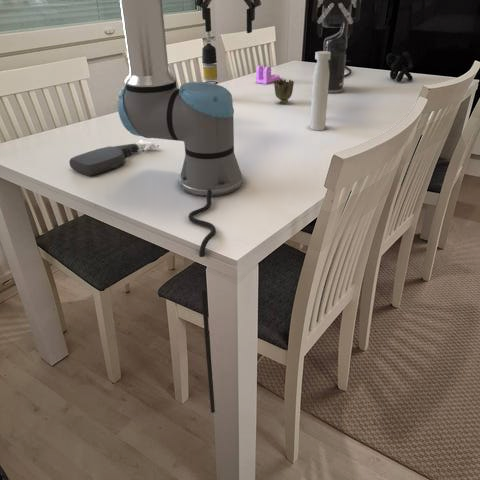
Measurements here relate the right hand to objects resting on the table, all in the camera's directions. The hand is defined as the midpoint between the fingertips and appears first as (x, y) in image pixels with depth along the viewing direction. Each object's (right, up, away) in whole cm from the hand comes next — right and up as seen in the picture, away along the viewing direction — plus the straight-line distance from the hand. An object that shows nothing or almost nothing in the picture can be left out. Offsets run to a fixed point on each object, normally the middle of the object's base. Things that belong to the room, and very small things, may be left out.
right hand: (334, 36), depth 139 cm
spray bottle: (-64, -41, -14) cm, 77 cm away
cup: (-13, -11, +33) cm, 37 cm away
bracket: (-16, +10, +65) cm, 68 cm away
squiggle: (+43, +9, +62) cm, 76 cm away
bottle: (-4, -27, +7) cm, 28 cm away
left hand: (-33, +2, 0) cm, 33 cm away
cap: (-4, -7, -5) cm, 10 cm away
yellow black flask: (-41, -6, +40) cm, 58 cm away
